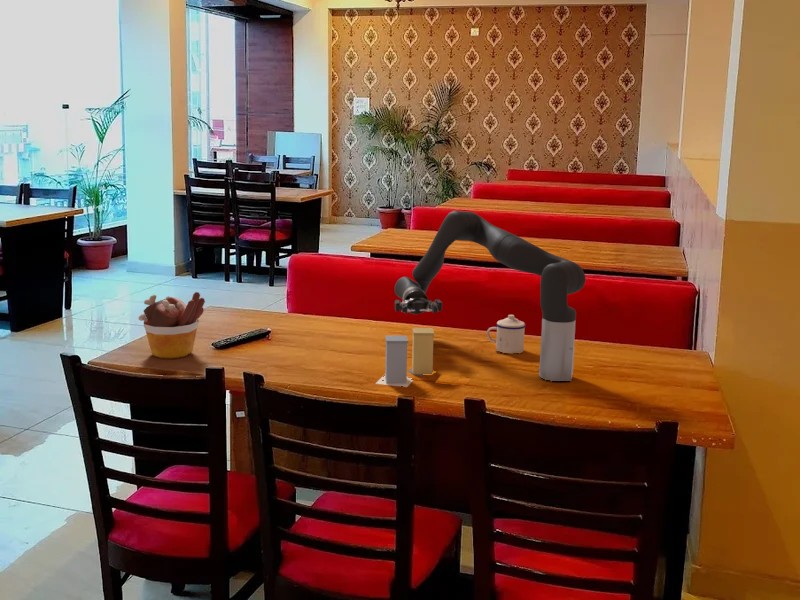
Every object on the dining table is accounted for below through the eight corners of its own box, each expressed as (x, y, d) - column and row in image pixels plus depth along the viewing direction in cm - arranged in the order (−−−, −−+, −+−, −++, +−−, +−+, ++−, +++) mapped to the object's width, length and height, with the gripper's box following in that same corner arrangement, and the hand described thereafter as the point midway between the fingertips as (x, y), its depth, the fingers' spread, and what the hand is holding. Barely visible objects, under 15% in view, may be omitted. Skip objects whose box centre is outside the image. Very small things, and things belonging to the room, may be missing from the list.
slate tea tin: (405, 377, 232) (406, 335, 230) (407, 383, 226) (408, 340, 224) (384, 377, 232) (385, 335, 229) (385, 383, 226) (386, 340, 223)
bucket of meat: (128, 357, 246) (125, 292, 242) (161, 344, 262) (158, 282, 257) (187, 365, 240) (185, 298, 236) (216, 350, 255) (215, 287, 251)
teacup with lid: (525, 348, 266) (527, 313, 263) (522, 355, 257) (524, 319, 255) (488, 345, 269) (489, 310, 266) (484, 352, 260) (485, 316, 257)
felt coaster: (439, 370, 240) (439, 368, 240) (432, 378, 233) (432, 376, 233) (412, 367, 243) (412, 366, 242) (405, 375, 235) (405, 373, 235)
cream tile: (415, 378, 232) (415, 377, 232) (407, 388, 224) (407, 387, 224) (384, 375, 235) (384, 374, 234) (375, 384, 226) (375, 383, 226)
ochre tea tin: (431, 368, 241) (432, 328, 238) (432, 374, 235) (434, 333, 232) (411, 368, 240) (412, 327, 238) (412, 374, 235) (413, 333, 232)
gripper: (392, 288, 259) (396, 298, 243) (437, 287, 260) (444, 297, 244) (392, 311, 261) (396, 322, 245) (437, 311, 262) (444, 322, 246)
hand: (420, 310), depth 245 cm, fingers open, 8 cm apart
